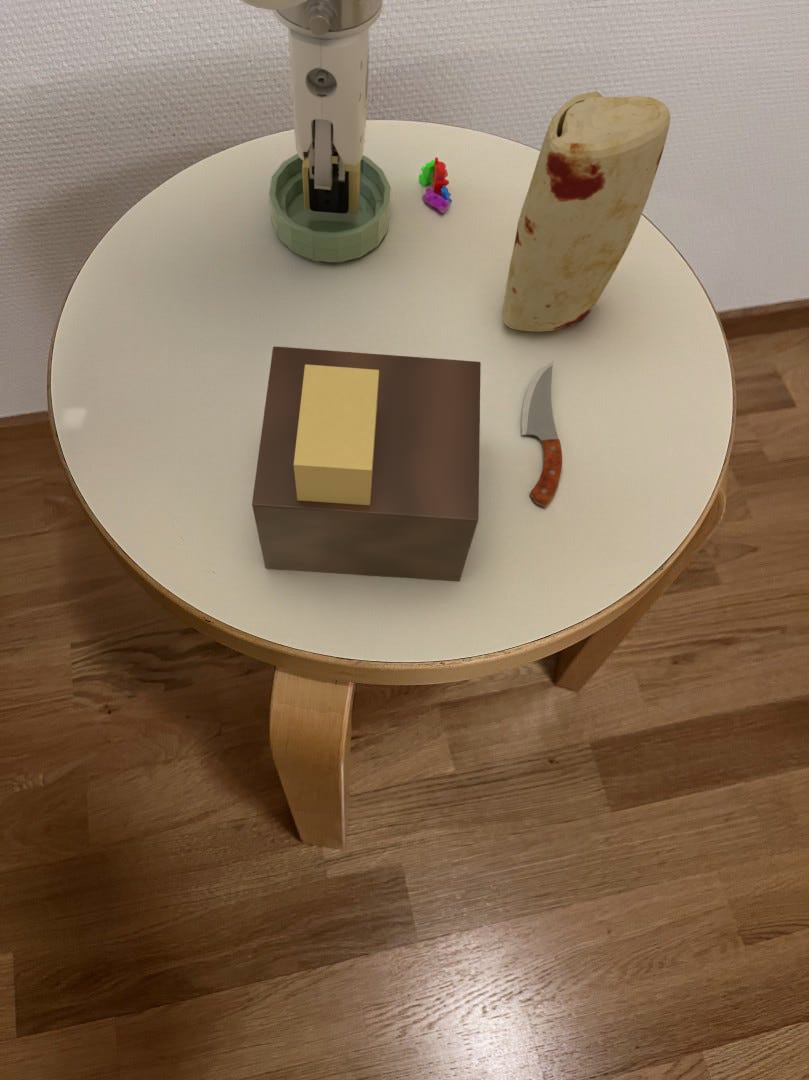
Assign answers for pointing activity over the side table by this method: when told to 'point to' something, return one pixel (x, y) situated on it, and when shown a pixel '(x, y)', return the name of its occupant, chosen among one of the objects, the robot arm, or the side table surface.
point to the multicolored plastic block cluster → (436, 185)
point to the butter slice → (353, 184)
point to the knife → (543, 434)
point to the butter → (336, 435)
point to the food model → (582, 207)
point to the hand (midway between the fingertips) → (331, 194)
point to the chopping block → (377, 472)
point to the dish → (329, 215)
